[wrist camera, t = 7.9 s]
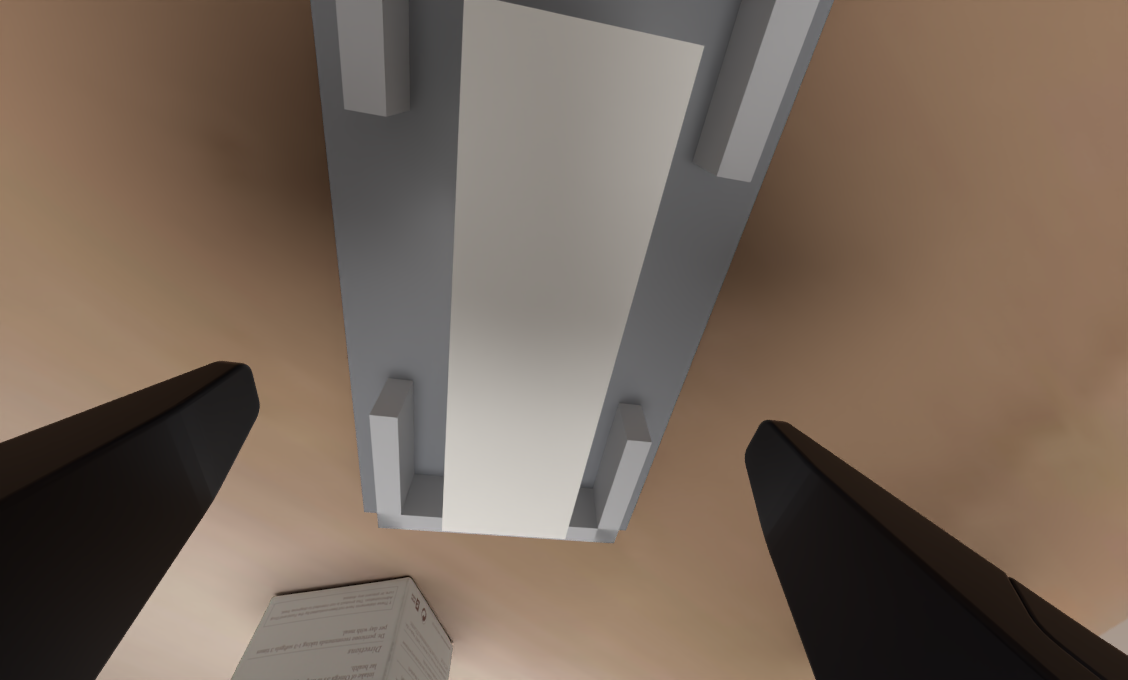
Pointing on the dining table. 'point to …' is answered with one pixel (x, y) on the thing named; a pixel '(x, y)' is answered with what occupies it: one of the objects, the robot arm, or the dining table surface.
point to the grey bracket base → (427, 218)
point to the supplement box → (349, 636)
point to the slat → (547, 248)
